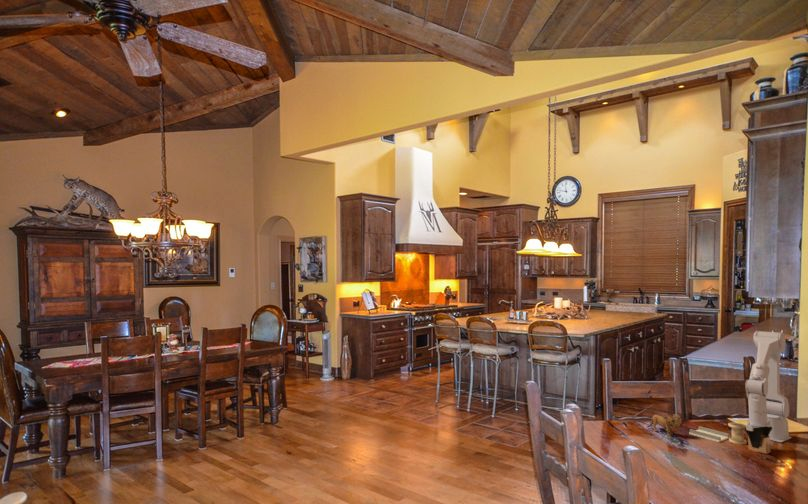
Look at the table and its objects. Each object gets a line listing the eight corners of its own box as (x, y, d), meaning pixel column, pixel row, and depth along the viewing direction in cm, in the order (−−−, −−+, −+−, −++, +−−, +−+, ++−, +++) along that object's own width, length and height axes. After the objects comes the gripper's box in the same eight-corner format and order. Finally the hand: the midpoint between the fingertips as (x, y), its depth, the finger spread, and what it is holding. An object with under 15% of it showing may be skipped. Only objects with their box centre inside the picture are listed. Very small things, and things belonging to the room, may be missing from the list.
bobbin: (733, 438, 202) (732, 421, 203) (749, 442, 197) (748, 425, 197) (725, 441, 199) (725, 424, 199) (742, 445, 194) (741, 428, 194)
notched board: (700, 430, 213) (700, 425, 213) (730, 438, 203) (730, 433, 203) (689, 434, 209) (688, 429, 209) (718, 442, 198) (718, 437, 198)
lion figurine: (684, 435, 207) (683, 414, 207) (678, 438, 204) (677, 416, 204) (650, 426, 219) (649, 406, 219) (643, 429, 216) (643, 408, 216)
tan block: (752, 447, 192) (752, 432, 193) (770, 452, 187) (769, 436, 187) (748, 449, 191) (747, 433, 191) (766, 454, 185) (765, 438, 186)
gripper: (760, 416, 182) (762, 453, 182) (778, 410, 190) (779, 445, 189) (739, 411, 188) (741, 447, 188) (757, 405, 196) (759, 440, 195)
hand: (759, 446), depth 189 cm, fingers open, 5 cm apart
